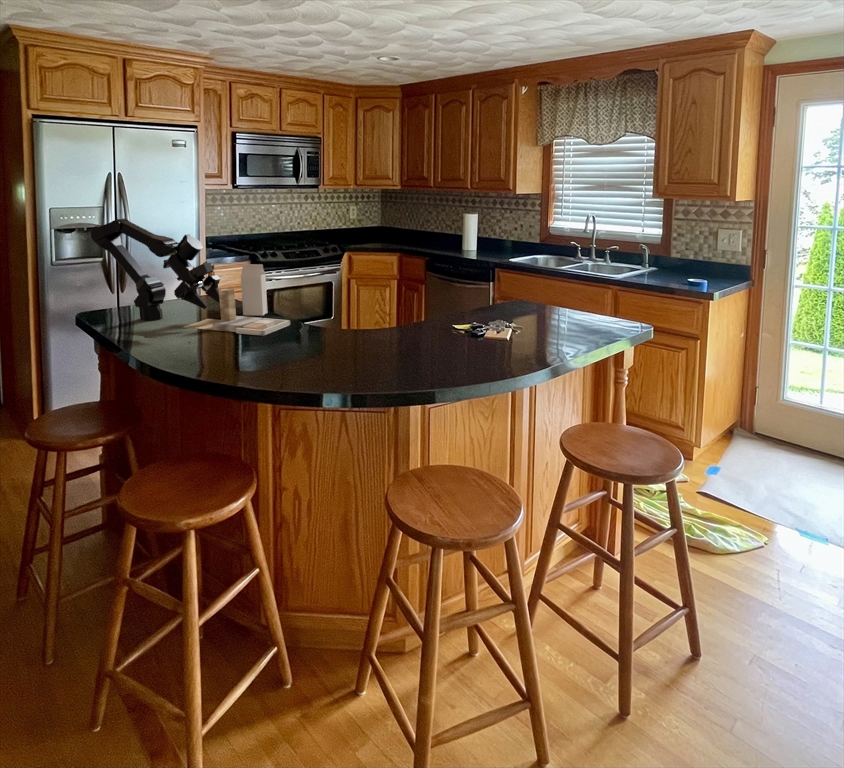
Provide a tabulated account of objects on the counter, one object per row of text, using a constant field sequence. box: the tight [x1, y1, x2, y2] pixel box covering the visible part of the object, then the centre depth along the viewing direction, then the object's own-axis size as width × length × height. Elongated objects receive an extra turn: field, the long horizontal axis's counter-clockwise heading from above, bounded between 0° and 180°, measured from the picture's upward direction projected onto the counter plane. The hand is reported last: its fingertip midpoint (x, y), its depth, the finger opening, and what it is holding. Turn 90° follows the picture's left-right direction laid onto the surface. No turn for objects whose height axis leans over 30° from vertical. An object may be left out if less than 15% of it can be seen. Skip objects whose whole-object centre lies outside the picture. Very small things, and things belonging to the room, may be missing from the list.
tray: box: [235, 317, 291, 336], centre depth 245 cm, size 10×17×3 cm, turn 160°
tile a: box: [254, 320, 276, 329], centre depth 248 cm, size 5×5×2 cm
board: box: [183, 318, 236, 333], centre depth 250 cm, size 21×14×2 cm, turn 70°
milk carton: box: [240, 263, 268, 317], centre depth 267 cm, size 7×7×19 cm
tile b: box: [243, 323, 265, 330], centre depth 243 cm, size 5×5×2 cm
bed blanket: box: [213, 288, 264, 332], centre depth 246 cm, size 11×13×12 cm
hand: (214, 305), depth 249 cm, fingers open, 9 cm apart
